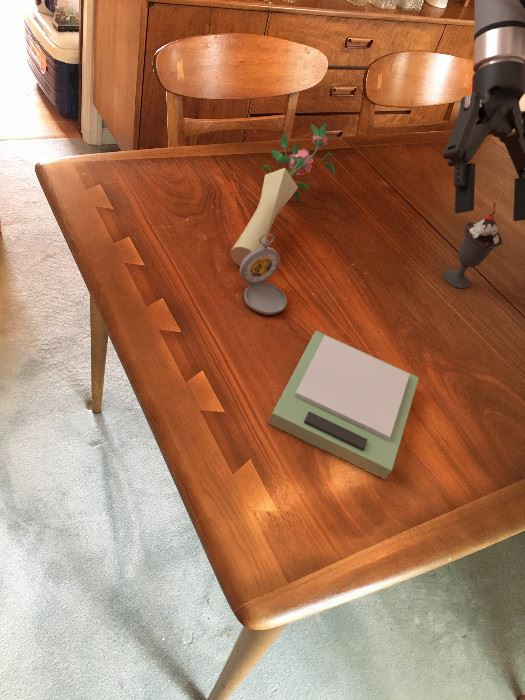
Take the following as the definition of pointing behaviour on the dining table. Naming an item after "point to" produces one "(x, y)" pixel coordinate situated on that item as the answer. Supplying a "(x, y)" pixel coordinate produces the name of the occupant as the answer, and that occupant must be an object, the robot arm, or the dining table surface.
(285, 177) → the flower vase
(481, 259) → the sundae
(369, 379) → the scale
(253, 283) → the pocket watch
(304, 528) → the dining table surface
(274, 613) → the dining table surface
